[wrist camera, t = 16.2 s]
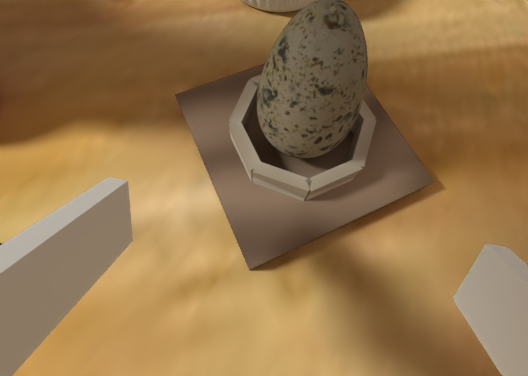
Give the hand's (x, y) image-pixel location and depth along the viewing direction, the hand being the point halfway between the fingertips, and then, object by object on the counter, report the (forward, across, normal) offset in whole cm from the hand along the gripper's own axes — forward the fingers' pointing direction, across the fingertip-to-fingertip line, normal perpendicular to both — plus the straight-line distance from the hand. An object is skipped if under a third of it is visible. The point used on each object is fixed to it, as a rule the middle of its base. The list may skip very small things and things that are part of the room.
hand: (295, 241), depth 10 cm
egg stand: (+12, 0, 0) cm, 12 cm away
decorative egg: (+11, 0, +1) cm, 11 cm away
